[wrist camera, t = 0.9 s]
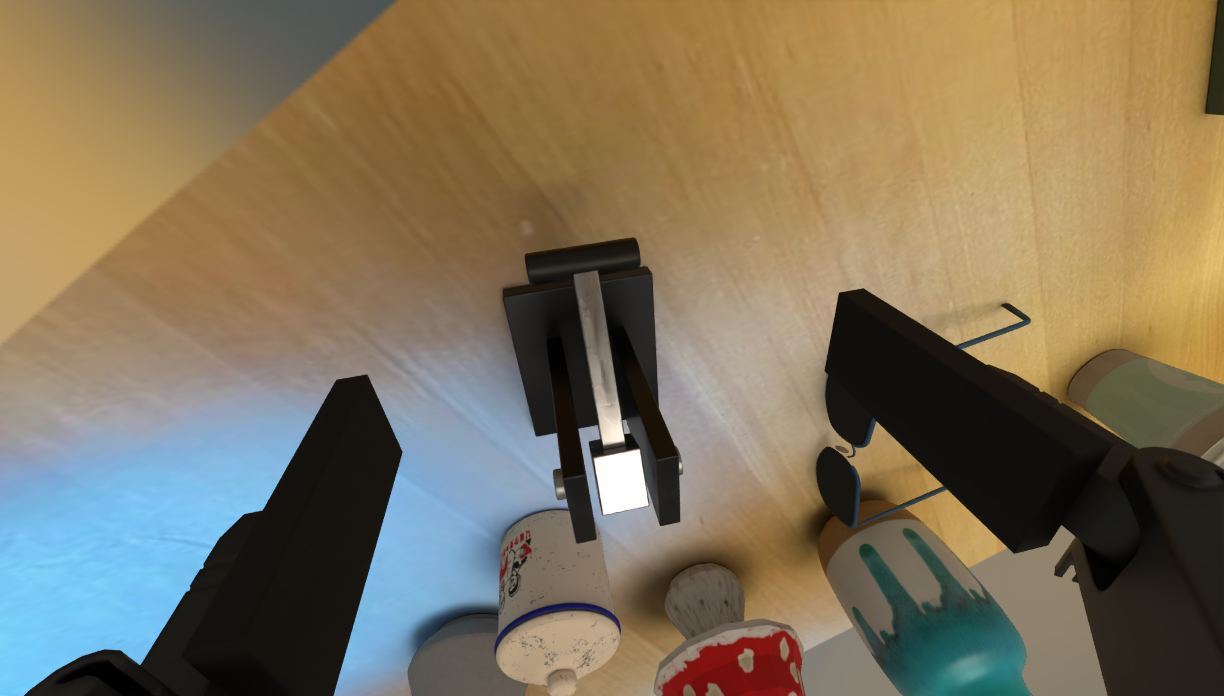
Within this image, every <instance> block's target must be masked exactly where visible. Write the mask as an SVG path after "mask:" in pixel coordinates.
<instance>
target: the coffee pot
mask: <svg viewBox="0 0 1224 696" xmlns="http://www.w3.org/2000/svg"><path fill="white" fill-rule="evenodd" d="M498 622H499V616H496V615H490V614H475V615H468V616H464V617H459V618H457V619H455V620H452V621H450V622H448V623H447V624H445V625H443V626H442V627H441V628H440V629H439V630H438V631H437V632H436V633H434V634H433V635H432V636H431V637H429V638H428V639H427V640H426V641H425V642H424V643H423V644H422V645H421V646H420V647H419V649H418V650H417V652H416V653H415V655H414V657H413V659H412V661H411V663H410V666H409V668H408V680H409V685H410V689H411V694H412V696H524V695H525V692H526V689H527V686H528V683H524V682H520V681H517V680H515V679H512V678H510V677H509V676H507V675H506V674H505V673H504V672H503V671H502V670H501V668H500V667H499V665H498V663H497V660H496V657H495V653H494V646H495V642H496V639H497V637H498Z"/></svg>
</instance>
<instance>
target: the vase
mask: <svg viewBox="0 0 1224 696" xmlns="http://www.w3.org/2000/svg"><path fill="white" fill-rule="evenodd" d="M896 506H898V505H896V504H893V503H891V502H887V501H882V500H868V501H862V502H859V507H858V519H857V524H859V523H861V522H863V521H865V520H867V519H869V518H871V517H873V516H876V515H878V514H880V513H882V512H885V511H887V510H889V509H892V508H894V507H896ZM818 552H819V558H820V562H821V565H822V568H823V570H824V573H825V575H826V577H827V579H828V581H829V583H830V585H831V587H832V589H833V591H834V593H835V595H836V597H837V599H838V600H839V602H840V604H841V606H842V607H843V609H844V611H845V613H846V614H847V616H848V618H849V619H850V621H851V623H852V624H853V626H854V627H855V629H856V631H857V632H858V634H859V635H860V637H861V639H862V640H863V642H864V643H865V645H866V646H867V648H868V649H869V651H870V653H871V654H872V656H873V657H874V659H875V660H876V662H877V663H878V664H879V666H880V667H881V669H882V670H883V672H884V673H885V674H886V676H887V677H888V678H889V680H890V681H891V682H892V684H893V685H894V686H895V687H896V689H897V690H898V691H899V692H900V693H901V694H902V695H903V696H1033V695H1032V694H1031V693H1030V691H1029V690H1028V688H1027V687H1026V685H1025V683H1024V680H1023V677H1022V671H1023V668H1024V665H1025V662H1026V658H1027V655H1026V648H1025V645H1024V642H1023V640H1022V638H1021V636H1020V634H1019V633H1018V631H1017V630H1016V628H1015V627H1014V625H1013V624H1012V622H1011V621H1010V619H1009V618H1008V617H1007V615H1006V614H1005V613H1004V611H1003V610H1002V609H1001V607H1000V606H999V605H998V604H997V602H996V601H995V600H994V599H993V597H992V596H991V595H990V594H989V592H988V591H987V590H986V589H985V588H984V587H983V585H982V584H981V583H980V582H979V581H978V580H977V578H976V577H975V576H974V575H973V574H972V573H971V572H970V570H969V569H968V568H967V567H966V566H965V565H964V564H963V563H962V562H961V560H960V559H959V558H958V557H957V556H956V555H955V554H954V553H953V552H952V551H951V550H950V549H949V548H948V546H947V545H946V544H945V543H944V542H943V541H942V540H941V539H940V538H939V537H938V536H937V535H936V534H935V533H934V532H933V531H932V530H930V529H929V528H928V527H927V526H926V525H925V524H924V523H923V522H922V521H921V520H920V519H918V518H917V517H916V516H915V515H913V514H912V513H911V512H909V511H908V510H906V509H904V508H903V509H900V510H898V511H896V512H893V513H891V514H888V515H886V516H883V517H881V518H879V519H876V520H873V521H871V522H868V523H865V524H863V525H859V526H856V527H855V528H854V529H849V528H848V526H847V525H845V524H843V523H842V522H841V521H840V520H839V519H838V518H837V517H836V516H835V515H834V516H833V517H832V518H831V519H830V520H829V521H828V522H827V523H826V525H825V526H824V528H823V530H822V532H821V534H820V537H819V543H818Z"/></svg>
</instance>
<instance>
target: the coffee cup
mask: <svg viewBox="0 0 1224 696" xmlns="http://www.w3.org/2000/svg"><path fill="white" fill-rule="evenodd" d="M1068 395H1069V397H1070V399H1071V400H1073V401H1074V402H1075V403H1077V404H1078V405H1079V406H1081V407H1082V408H1083V409H1085V410H1086V411H1087V412H1089V413H1090V414H1091V415H1092V416H1094V417H1095V418H1096V419H1098V420H1099V421H1100V422H1102V423H1103V424H1104V425H1106V426H1107V427H1108V428H1110V429H1111V430H1112V431H1114V432H1115V433H1116V434H1118V435H1119V436H1120V437H1122V438H1123V439H1124V440H1126V441H1127V442H1128V443H1130V444H1131V445H1133V446H1135V447H1136V448H1138V449H1140V448H1145V447H1153V446H1155V447H1163V448H1172V449H1176V450H1179V451H1183V452H1186V453H1190V454H1193V455H1196V456H1198V457H1201V458H1203V459H1205V460H1207V461H1210V462H1212V463H1214V464H1216V465H1218V466H1219V467H1221V468H1222V469H1224V385H1223V384H1220V383H1218V382H1215V381H1212V380H1209V379H1206V378H1204V377H1201V376H1198V375H1195V374H1192V373H1189V372H1187V371H1184V370H1181V369H1178V368H1175V367H1172V366H1170V365H1167V364H1164V363H1161V362H1158V361H1156V360H1153V359H1150V358H1147V357H1144V356H1141V355H1138V354H1135V353H1133V352H1130V351H1127V350H1124V349H1116V350H1111V351H1108V352H1105V353H1103V354H1101V355H1099V356H1097V357H1096V358H1094V359H1092V360H1091V361H1090V362H1088V363H1087V364H1086V365H1085V366H1084V367H1082V368H1081V369H1080V371H1079V372H1078V373H1077V374H1076V375H1075V377H1074V378H1073V380H1072V381H1071V383H1070V386H1069V389H1068Z"/></svg>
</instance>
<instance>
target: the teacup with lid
mask: <svg viewBox="0 0 1224 696" xmlns="http://www.w3.org/2000/svg"><path fill="white" fill-rule="evenodd" d="M595 528H596V534H597V540H594V541H589V542H585V543H580V544H577V543H576V541H575V536H574V531H573V527H572V522H571V517H570V512H569V511H564V510H552V511H545V512H540V513H537V514H534V515H531V516H528V517H526V518H524V519H522V520H521V521H519V522H518V523H516V524H515V525H514V526H513V527H512V528H511V529H510V530H509V531H508V532H507V533H506V535H505V536H504V538H503V540H502V543H501V548H500V585H499V622H498V637H497V639H496V642H495V646H494V653H495V657H496V660H497V663H498V665H499V667H500V668H501V670H502V671H503V672H504V673H505V674H506V675H507V676H509V677H510V678H512V679H515V680H517V681H520V682H524V683H530V684H540V685H544V686H547V688H548V693H549V694H550V695H551V696H570V695H572V694H573V693H574V692H575V690H576V688H577V680H578V679H580V678H582V677H583V676H584V675H587V674H589V673H591V672H593V671H595V670H596V669H598V668H599V667H601V666H602V665H604V664H605V663H606V662H607V661H608V660H609V659H610V658H611V657H612V656H613V654H614V653H615V651H616V649H617V647H618V644H619V641H620V634H621V628H620V623H619V621H618V619H617V618H616V617H615V613H614V608H613V602H612V597H611V591H610V586H609V581H608V575H607V570H606V564H605V559H604V553H603V548H602V543H601V537H600V533H599V530H598V528H597V527H596V525H595Z"/></svg>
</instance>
